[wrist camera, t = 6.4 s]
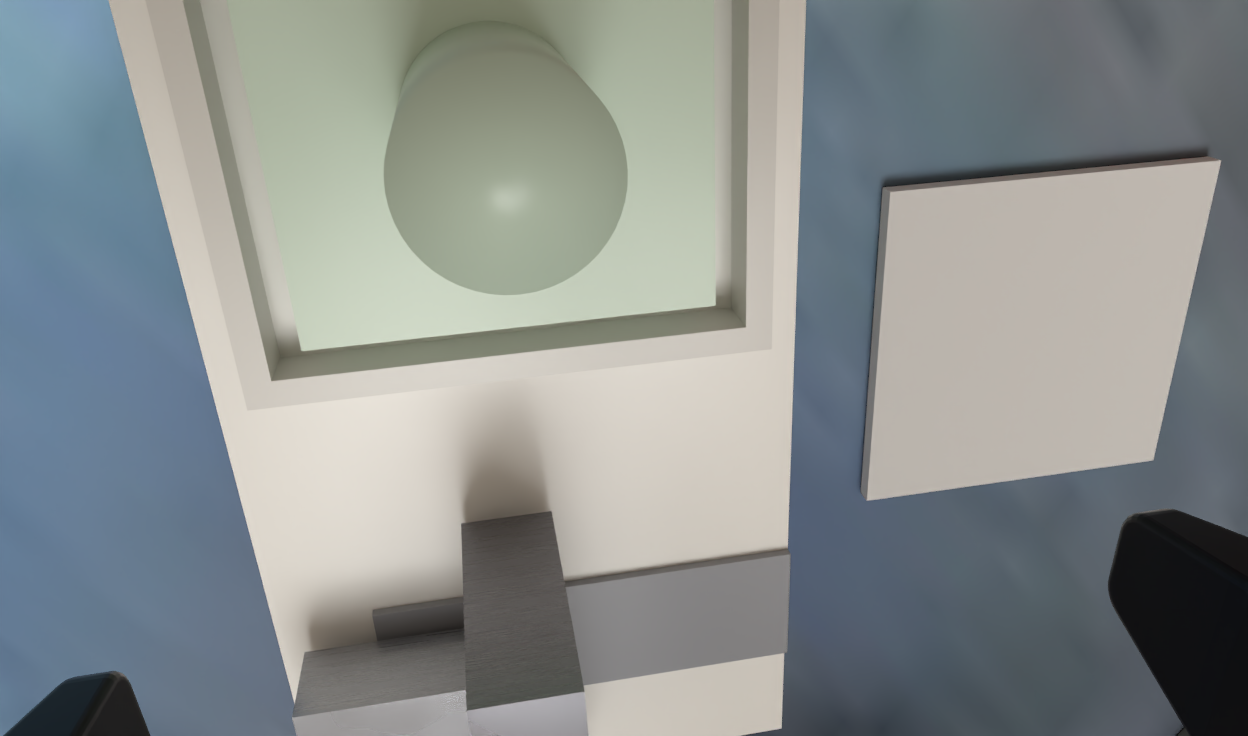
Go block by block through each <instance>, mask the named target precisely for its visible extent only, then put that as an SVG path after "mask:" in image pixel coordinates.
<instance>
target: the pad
mask: <svg viewBox="0 0 1248 736" xmlns="http://www.w3.org/2000/svg"><path fill="white" fill-rule="evenodd" d="M1220 163H1221V160H1218V159H1215V158H1212V157H1198V158H1188V159H1177V160H1166V161H1156V162H1145V163H1135V164H1124V165H1114V166H1103V167H1093V168H1082V169H1072V170H1061V171H1051V172H1040V173H1030V174H1019V175H1009V176H998V177H988V178H977V179H967V180H956V181H946V182H935V183H925V184H914V185H903V186H893V187H883V191H882V204H881V218H880V232H879V246H878V260H877V274H876V287H875V301H874V315H873V329H872V343H871V357H870V370H869V384H868V398H867V412H866V426H865V439H864V453H863V467H862V481H861V494H862V495H863V496H864V498H865V499H866V500H867V501H869V500H876V499H884V498H891V497H898V496H905V495H912V494H919V493H926V492H933V491H940V490H947V489H954V488H961V487H968V486H975V485H982V484H990V483H997V482H1004V481H1011V480H1018V479H1025V478H1032V477H1039V476H1046V475H1053V474H1060V473H1067V472H1074V471H1081V470H1089V469H1096V468H1103V467H1110V466H1117V465H1124V464H1131V463H1138V462H1145V461H1152V460H1153V459H1154V454H1155V450H1156V446H1157V441H1158V437H1159V432H1160V428H1161V424H1162V419H1163V415H1164V410H1165V406H1166V401H1167V397H1168V393H1169V388H1170V384H1171V379H1172V375H1173V371H1174V366H1175V362H1176V357H1177V353H1178V349H1179V344H1180V340H1181V335H1182V331H1183V327H1184V322H1185V318H1186V313H1187V309H1188V305H1189V300H1190V296H1191V291H1192V287H1193V282H1194V278H1195V274H1196V269H1197V265H1198V260H1199V256H1200V252H1201V247H1202V243H1203V238H1204V234H1205V230H1206V225H1207V221H1208V216H1209V212H1210V208H1211V203H1212V199H1213V194H1214V190H1215V185H1216V181H1217V177H1218V172H1219V168H1220Z"/></svg>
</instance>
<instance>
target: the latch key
mask: <svg viewBox="0 0 1248 736" xmlns="http://www.w3.org/2000/svg"><path fill="white" fill-rule="evenodd" d="M461 536H462V570H463V604H464V628H461V629H454V630H447V631H441V632H434V633H427V634H421V635H414V636H408V637H401V638H394V639H388V640H381V641H375V642H368V643H361V644H355V645H348V646H342V647H335V648H328V649H322V650H315V651H308V652H305V653H304V658H303V663H302V668H301V674H300V679H299V684H298V689H297V695H296V700H295V705H294V710H293V715H292V720H293V723H294V727H295V731H296V734H297V736H588V724H587V713H586V701H585V691H584V685H583V680H582V674H581V669H580V663H579V658H578V653H577V647H576V642H575V636H574V631H573V625H572V620H571V614H570V609H569V604H568V598H567V593H566V587H565V582H564V576H563V571H562V565H561V560H560V555H559V549H558V544H557V538H556V533H555V527H554V522H553V517H552V511H548V512H541V513H534V514H526V515H519V516H512V517H504V518H497V519H490V520H482V521H475V522H468V523H461Z"/></svg>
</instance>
